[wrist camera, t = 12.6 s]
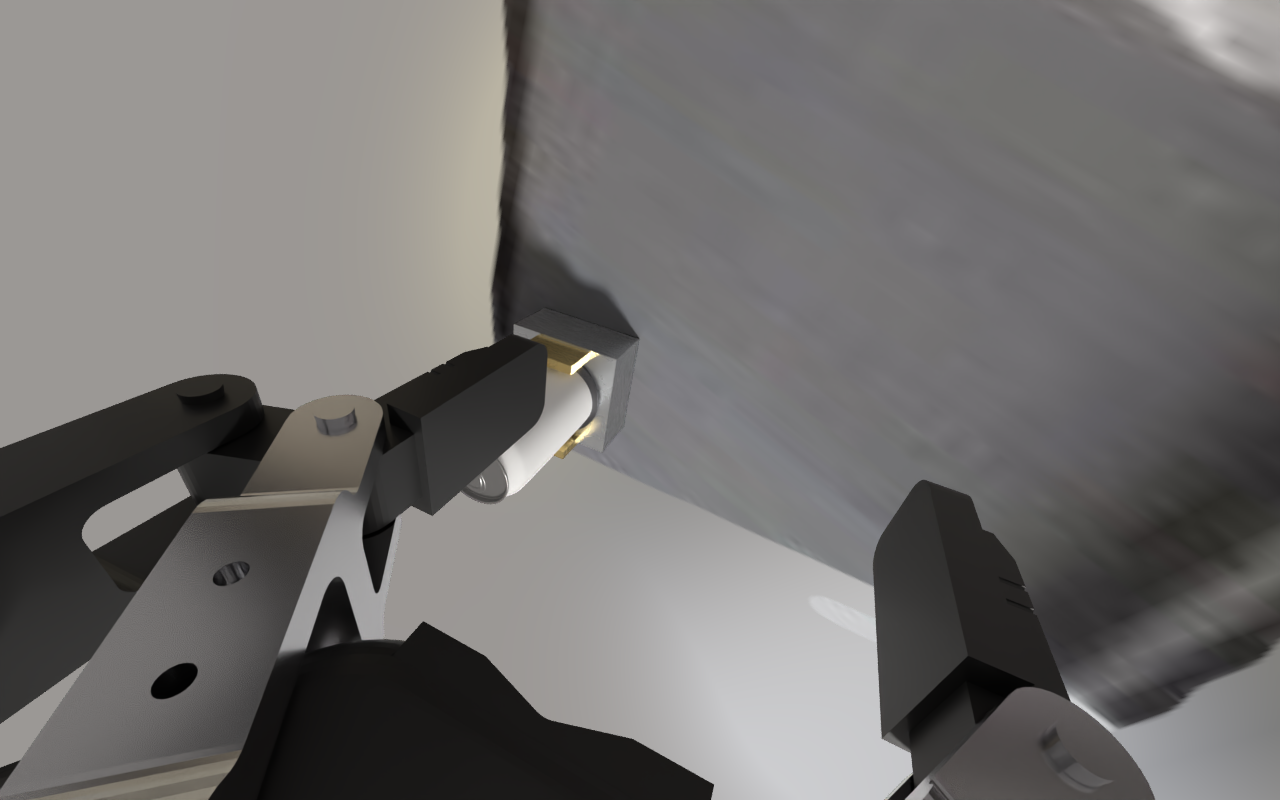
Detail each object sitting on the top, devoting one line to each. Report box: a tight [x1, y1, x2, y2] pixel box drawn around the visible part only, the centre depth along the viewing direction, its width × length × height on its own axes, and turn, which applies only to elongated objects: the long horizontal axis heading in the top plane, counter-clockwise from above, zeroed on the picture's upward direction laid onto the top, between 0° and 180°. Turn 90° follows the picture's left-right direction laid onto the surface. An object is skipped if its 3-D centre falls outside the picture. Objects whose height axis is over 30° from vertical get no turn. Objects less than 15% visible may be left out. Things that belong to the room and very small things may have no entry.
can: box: [461, 367, 592, 504], centre depth 36 cm, size 6×6×12 cm
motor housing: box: [514, 308, 639, 459], centre depth 42 cm, size 10×12×8 cm
